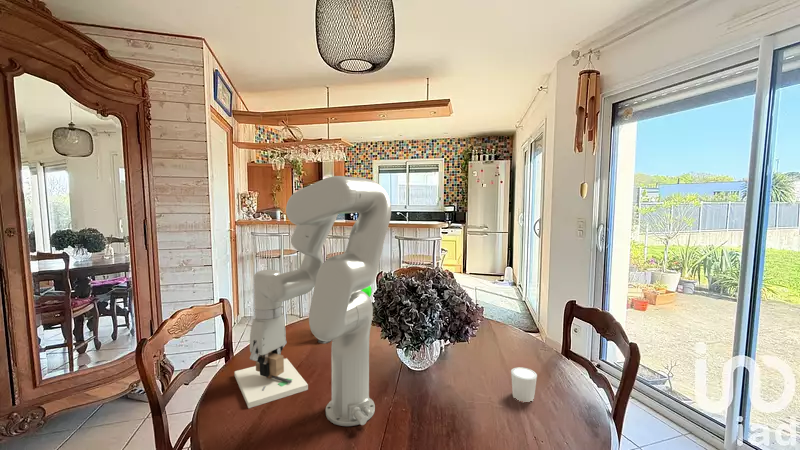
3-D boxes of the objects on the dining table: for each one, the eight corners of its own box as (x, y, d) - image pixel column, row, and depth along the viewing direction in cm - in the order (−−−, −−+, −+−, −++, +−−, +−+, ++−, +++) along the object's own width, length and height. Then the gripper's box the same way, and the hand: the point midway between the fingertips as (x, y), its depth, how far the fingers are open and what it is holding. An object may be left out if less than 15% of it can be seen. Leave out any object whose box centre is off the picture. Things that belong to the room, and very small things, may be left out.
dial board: (307, 389, 100) (307, 384, 100) (248, 408, 91) (248, 402, 91) (286, 362, 116) (286, 357, 116) (234, 376, 107) (234, 370, 107)
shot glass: (519, 405, 93) (520, 380, 92) (505, 392, 100) (506, 368, 99) (541, 402, 95) (542, 377, 94) (526, 388, 101) (527, 365, 101)
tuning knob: (256, 376, 104) (255, 354, 103) (263, 371, 106) (263, 350, 106) (287, 385, 99) (286, 362, 98) (294, 380, 101) (294, 358, 101)
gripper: (279, 303, 111) (280, 358, 112) (235, 318, 96) (237, 382, 97) (297, 306, 108) (298, 363, 109) (255, 323, 93) (256, 389, 94)
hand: (269, 372), depth 103 cm, fingers closed on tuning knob, 3 cm apart
